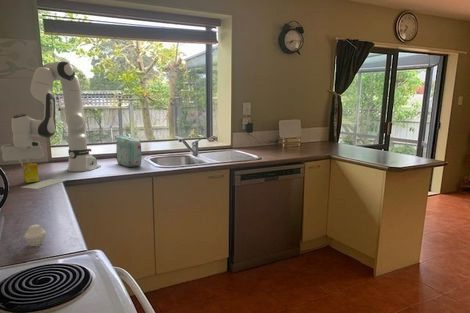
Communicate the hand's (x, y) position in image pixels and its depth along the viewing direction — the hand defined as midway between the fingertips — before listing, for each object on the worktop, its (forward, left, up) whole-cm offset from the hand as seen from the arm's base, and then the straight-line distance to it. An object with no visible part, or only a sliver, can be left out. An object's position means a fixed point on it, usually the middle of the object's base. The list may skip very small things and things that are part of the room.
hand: (24, 167), depth 191 cm
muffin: (+65, +77, -9) cm, 101 cm away
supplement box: (0, +4, -9) cm, 9 cm away
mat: (+1, +14, -9) cm, 16 cm away
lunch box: (-63, +26, -9) cm, 68 cm away
